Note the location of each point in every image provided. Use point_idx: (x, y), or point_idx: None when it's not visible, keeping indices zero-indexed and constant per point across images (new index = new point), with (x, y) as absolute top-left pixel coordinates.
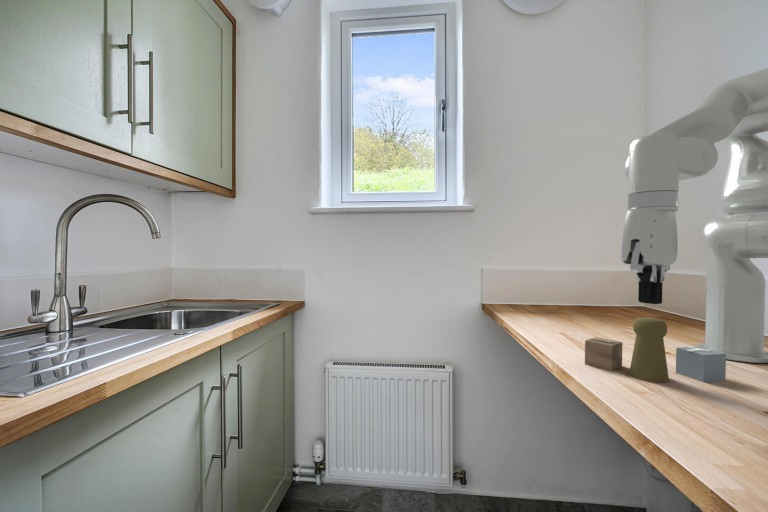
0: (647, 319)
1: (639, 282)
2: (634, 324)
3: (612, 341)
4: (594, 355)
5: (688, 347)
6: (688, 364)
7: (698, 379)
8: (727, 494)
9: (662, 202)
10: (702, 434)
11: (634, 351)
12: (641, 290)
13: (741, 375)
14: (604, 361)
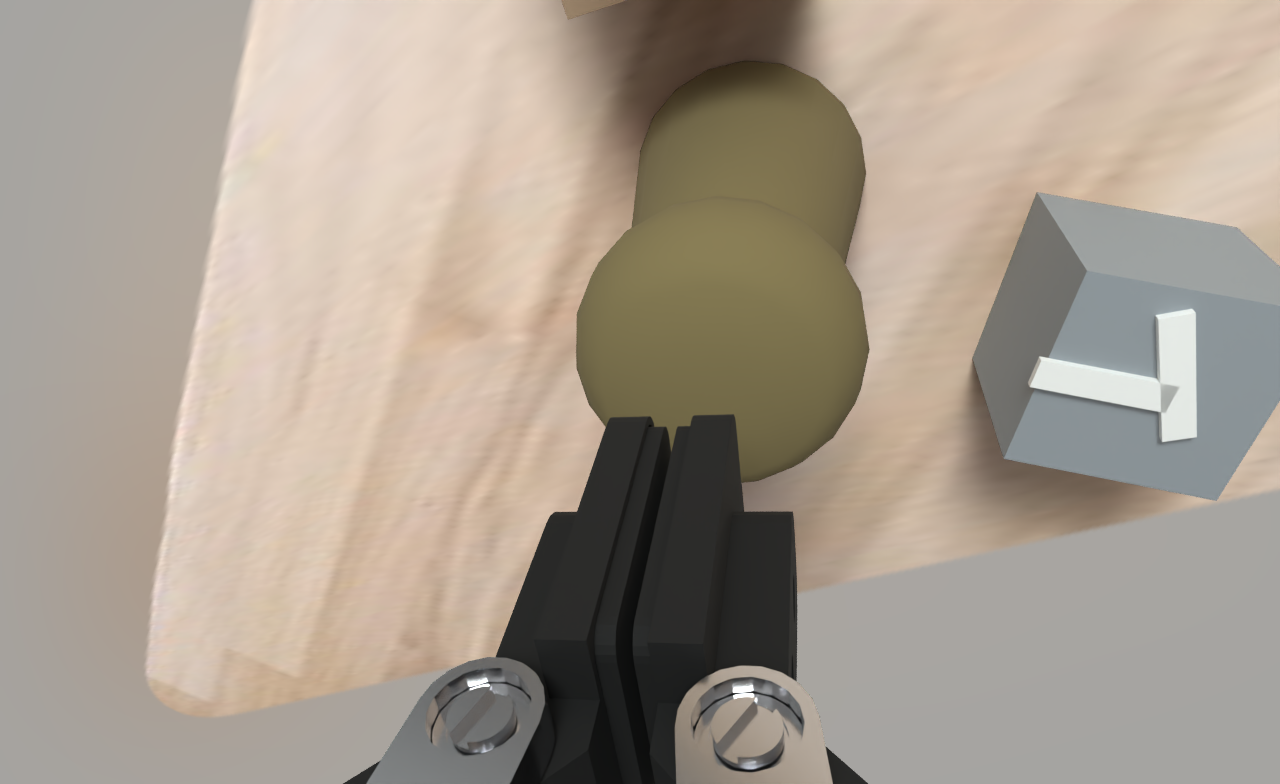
0: (634, 409)
1: (545, 627)
2: (588, 284)
3: None
4: None
5: (1158, 326)
6: (1020, 315)
7: (984, 337)
8: (156, 693)
9: None
10: (345, 587)
11: (646, 185)
12: (526, 583)
13: None
14: None
